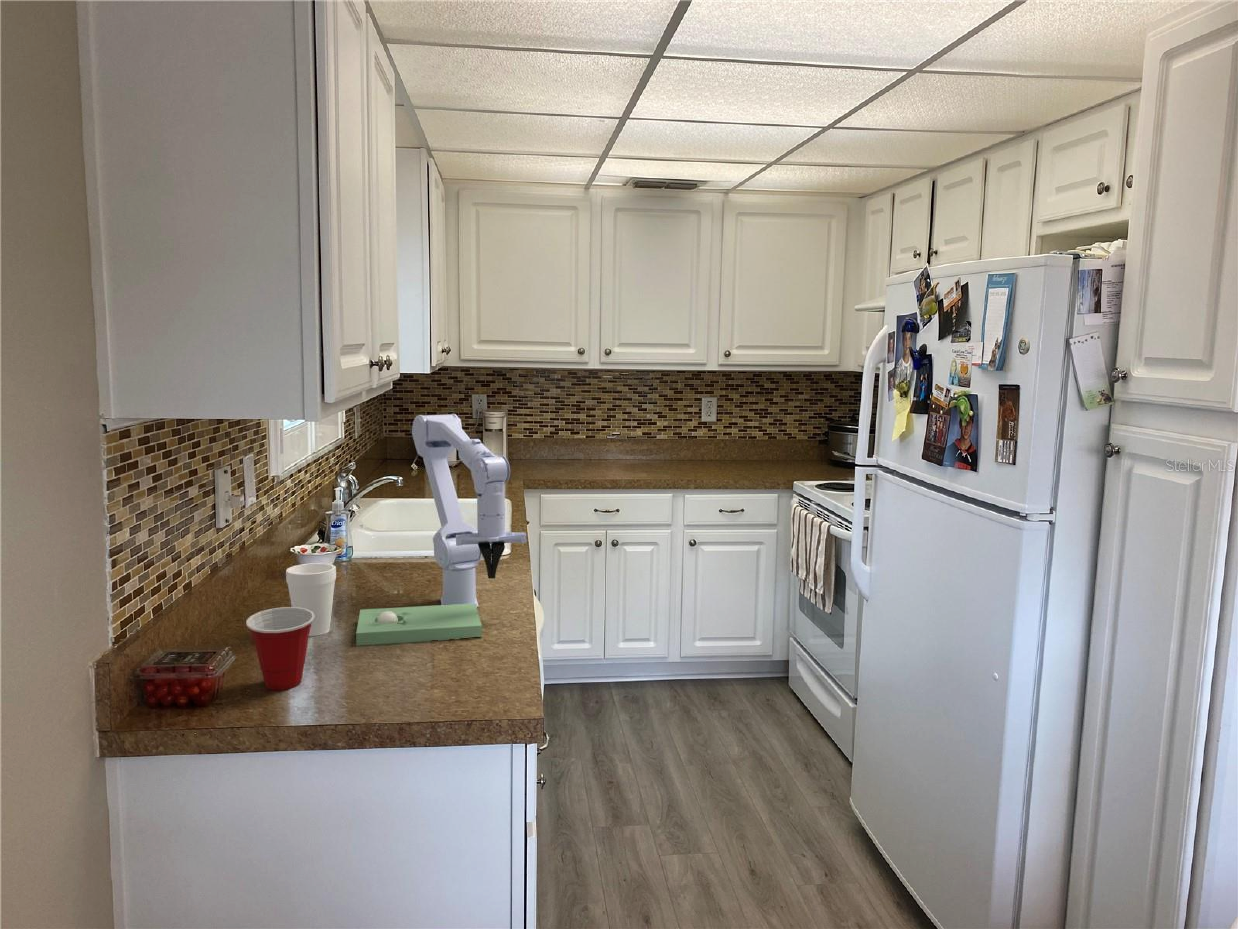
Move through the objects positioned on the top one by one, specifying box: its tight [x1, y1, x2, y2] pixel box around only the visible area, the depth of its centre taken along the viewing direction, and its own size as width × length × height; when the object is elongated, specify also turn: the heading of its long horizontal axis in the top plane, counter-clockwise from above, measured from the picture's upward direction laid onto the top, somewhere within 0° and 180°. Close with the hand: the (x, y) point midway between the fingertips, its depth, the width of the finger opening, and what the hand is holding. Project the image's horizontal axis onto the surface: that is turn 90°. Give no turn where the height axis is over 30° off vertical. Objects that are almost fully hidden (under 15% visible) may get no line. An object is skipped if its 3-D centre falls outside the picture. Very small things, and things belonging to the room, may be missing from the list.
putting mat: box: [355, 603, 483, 647], centre depth 178 cm, size 16×24×2 cm, turn 104°
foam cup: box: [285, 562, 337, 637], centre depth 175 cm, size 10×9×13 cm
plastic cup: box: [245, 606, 315, 691], centre depth 147 cm, size 11×11×12 cm
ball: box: [378, 611, 398, 624], centre depth 176 cm, size 4×4×4 cm
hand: (491, 577), depth 184 cm, fingers closed
